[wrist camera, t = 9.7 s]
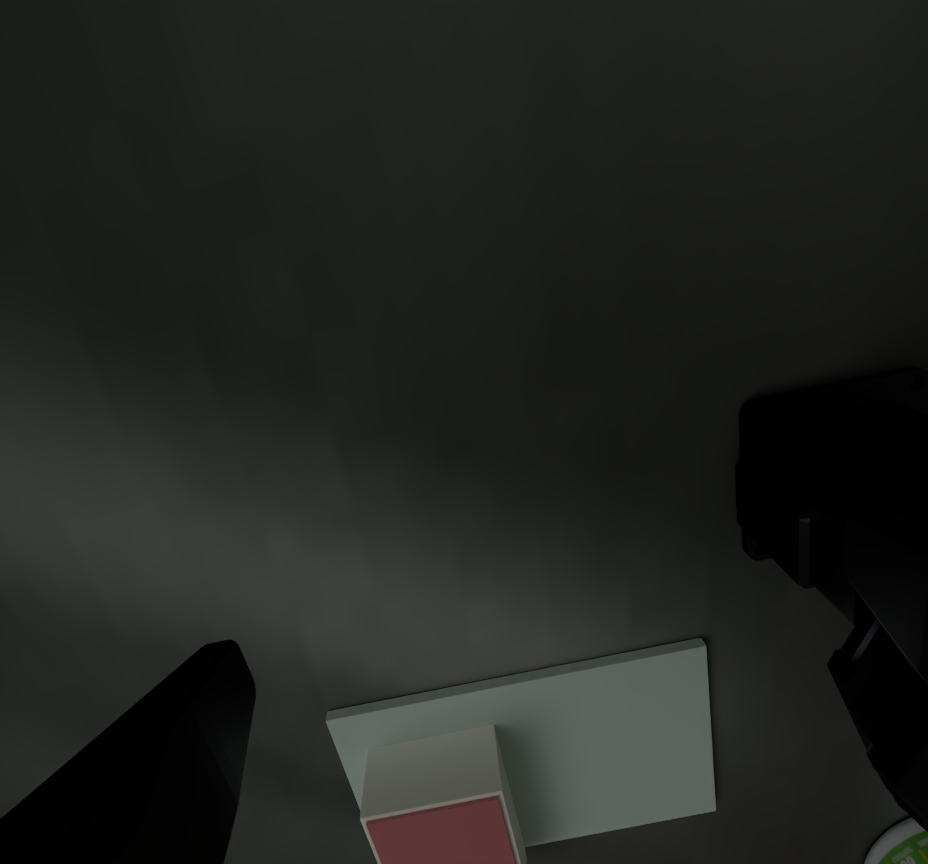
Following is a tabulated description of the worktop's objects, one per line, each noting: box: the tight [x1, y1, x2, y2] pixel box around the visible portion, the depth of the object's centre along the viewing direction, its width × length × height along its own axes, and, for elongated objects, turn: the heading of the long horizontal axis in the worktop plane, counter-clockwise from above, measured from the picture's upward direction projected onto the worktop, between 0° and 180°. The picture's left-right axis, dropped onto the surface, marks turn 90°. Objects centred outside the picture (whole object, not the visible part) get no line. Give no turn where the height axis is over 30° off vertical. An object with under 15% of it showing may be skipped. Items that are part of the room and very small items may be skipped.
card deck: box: [360, 725, 527, 864], centre depth 25 cm, size 8×6×3 cm
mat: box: [326, 638, 716, 847], centre depth 26 cm, size 16×10×1 cm, turn 102°
